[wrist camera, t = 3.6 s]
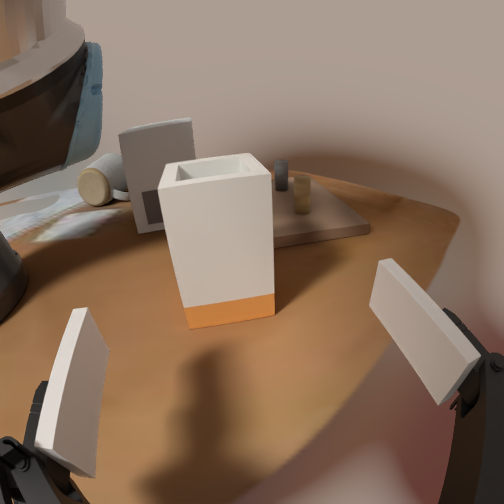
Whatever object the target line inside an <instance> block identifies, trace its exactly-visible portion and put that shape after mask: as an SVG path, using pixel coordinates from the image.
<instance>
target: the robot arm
mask: <svg viewBox="0 0 504 504" xmlns="http://www.w3.org/2000/svg"><path fill="white" fill-rule="evenodd" d="M65 3H66V0H0V193H1V192H3V191H6V190H8V189H11V188H13V187H16V186H18V185H21V184H23V183H26V182H28V181H31V180H34V179H37V178H39V177H42V176H45V175H48V174H51V173H54V172H56V171H61V170H64V169H66V168H67V167H68V166H70V165H73V164H75V163H78V162H80V161H83V160H85V159H88V158H89V157H91V156H92V155H93V154H94V153H95V152H96V150H97V148H98V146H99V143H100V138H101V129H102V91H101V89H102V77H103V70H102V52H101V47H100V45H99V44H97V43H91V42H85V34H84V30H83V28H82V27H81V26H80V25H78V24H76V23H75V22H73V21H71V20H69V19H67V18H66V6H65V5H66V4H65ZM27 283H28V272H27V270H26V268H25V265H24V263H23V261H22V258H21V257H20V255H19V254H18V253H17V252H16V251H15V250H12V248H11V246H10V245H9V243H8V242H7V240H6V239H5V237H4V236H3V234H2V233H1V231H0V321H1V320H2V319H3V318H4V317H5V316H6V315H7V314H8V313H9V312H10V311H11V310H12V308H13V307H14V306H15V305H16V303H17V302H18V301H19V299H20V298H21V296H22V294H23V293H24V291H25V289H26V286H27ZM369 307H370V308H371V309H372V311H373V312H374V313H375V315H376V316H377V317H378V319H379V320H380V321H381V323H382V324H383V326H384V327H385V328H386V330H387V331H388V333H389V334H390V335H391V337H392V338H393V340H394V341H395V342H396V344H397V345H398V347H399V348H400V350H401V351H402V352H403V354H404V355H405V357H406V358H407V360H408V361H409V362H410V364H411V365H412V367H413V368H414V370H415V371H416V373H417V374H418V376H419V377H420V379H421V380H422V382H423V383H424V385H425V386H426V388H427V389H428V391H429V393H430V394H431V396H432V397H433V399H434V400H435V402H436V404H437V405H440V404H442V403H443V402H445V401H447V400H448V399H450V398H451V397H452V396H453V394H454V393H455V392H456V391H457V390H458V392H459V393H460V395H459V396H458V397H457V398H456V399H455V401H454V402H453V403H452V404H451V406H450V409H451V410H452V409H453V407H454V406H455V405H456V404H457V407H456V408H455V410H456V419H455V427H454V434H453V440H452V446H451V452H450V457H449V463H448V467H447V472H446V476H445V481H444V485H443V488H442V492H441V496H440V499H439V503H438V504H504V356H502V355H501V354H498V353H489V352H487V351H486V349H485V348H484V347H483V346H482V344H481V343H480V342H479V341H478V340H477V338H476V337H475V336H474V335H473V334H472V333H471V332H470V330H468V329H467V327H466V326H465V325H464V324H462V321H461V320H460V319H459V318H458V317H457V316H456V315H455V314H454V313H452V312H451V311H449V310H448V309H446V308H444V309H441V308H440V307H439V306H438V305H437V304H436V303H435V302H434V301H433V300H432V299H431V298H430V297H429V295H428V294H427V293H426V292H425V291H424V290H423V289H422V288H421V287H420V286H419V285H418V284H417V283H416V282H415V281H414V280H413V279H412V278H411V277H410V276H409V275H408V274H407V273H406V272H405V271H404V270H403V269H402V268H401V267H400V266H399V265H398V264H397V263H396V262H395V261H394V260H393V259H392V258H390V259H385V260H380V261H379V262H378V267H377V272H376V277H375V281H374V286H373V290H372V295H371V299H370V303H369ZM109 352H110V350H109V348H108V346H107V344H106V342H105V341H104V339H103V337H102V335H101V333H100V331H99V329H98V327H97V325H96V323H95V321H94V319H93V317H92V315H91V313H90V311H89V309H88V307H87V308H78V309H73V311H72V314H71V316H70V319H69V322H68V324H67V327H66V330H65V333H64V335H63V338H62V341H61V344H60V347H59V350H58V353H57V356H56V359H55V362H54V365H53V369H52V372H51V375H50V379H49V381H42V382H41V383H40V385H39V386H38V388H37V389H36V391H35V395H34V398H33V404H32V406H31V410H30V411H31V413H30V414H29V418H28V422H27V427H26V431H25V436H24V441H23V445H22V444H20V443H19V442H18V441H17V440H15V439H14V438H12V437H9V436H5V437H3V438H1V439H0V504H13V503H12V499H13V501H14V504H90V503H89V502H88V501H87V499H86V498H85V497H84V495H83V494H82V493H81V491H80V490H79V488H78V487H77V485H76V484H75V482H74V481H73V480H72V479H71V478H70V471H71V472H72V473H74V474H76V475H77V476H81V477H88V478H95V470H96V452H97V438H98V428H99V418H100V409H101V402H102V394H103V387H104V381H105V375H106V369H107V363H108V357H109ZM11 498H12V499H11Z"/></svg>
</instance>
